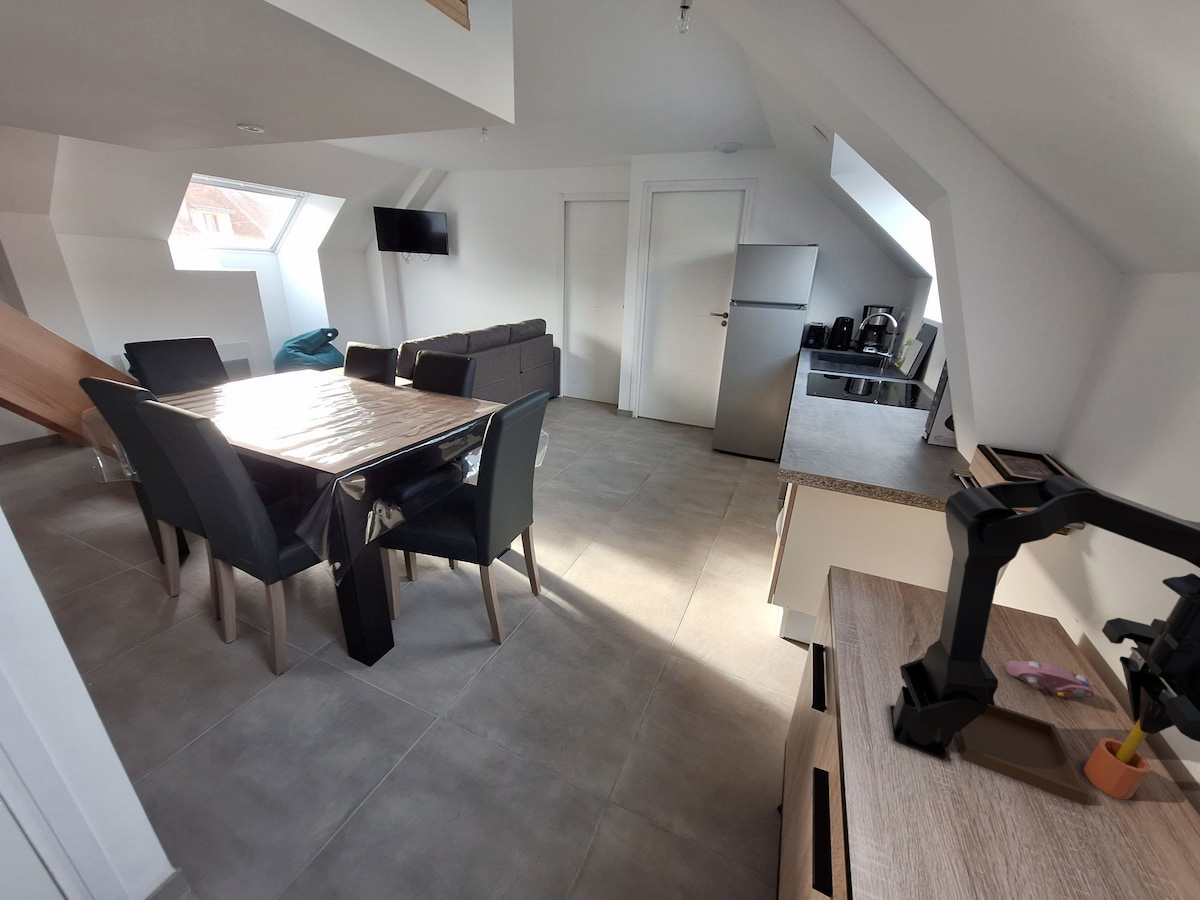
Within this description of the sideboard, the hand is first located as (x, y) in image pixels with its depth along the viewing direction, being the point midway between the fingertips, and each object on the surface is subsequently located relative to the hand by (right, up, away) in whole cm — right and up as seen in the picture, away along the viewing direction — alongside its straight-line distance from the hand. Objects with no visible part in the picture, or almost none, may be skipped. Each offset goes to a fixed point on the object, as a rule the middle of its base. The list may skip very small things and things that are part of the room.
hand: (1142, 726), depth 59 cm
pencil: (0, -6, +2) cm, 6 cm away
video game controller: (+5, -5, +18) cm, 19 cm away
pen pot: (0, -10, +4) cm, 11 cm away
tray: (-10, -8, +8) cm, 15 cm away
